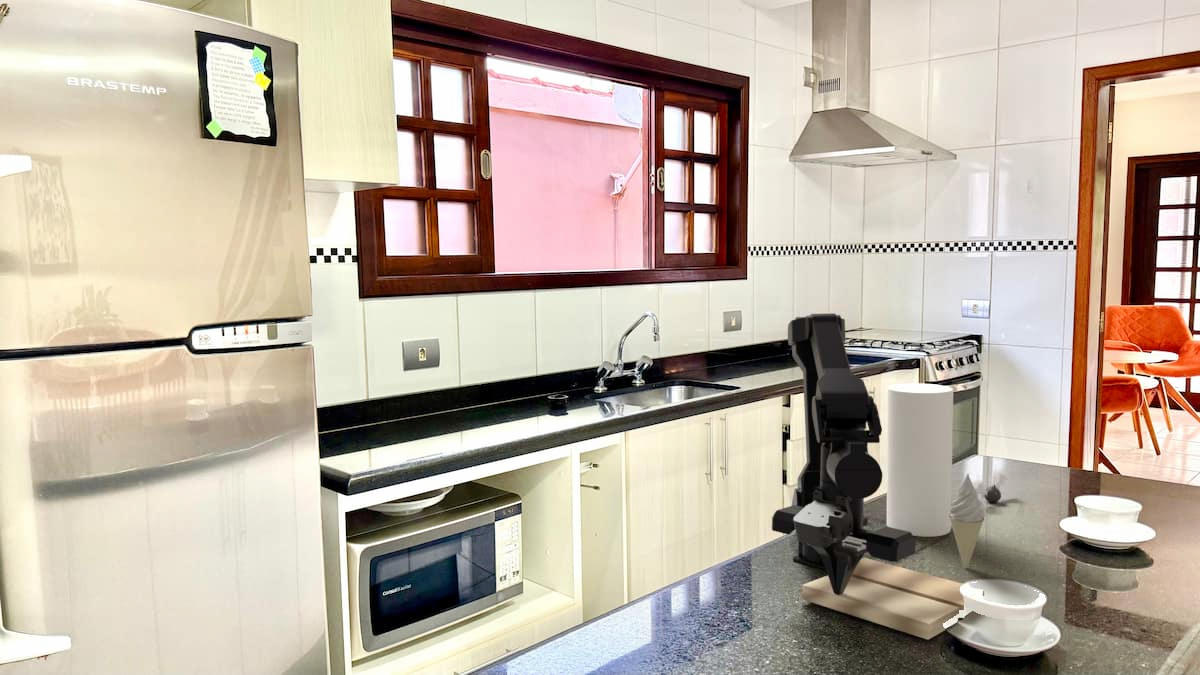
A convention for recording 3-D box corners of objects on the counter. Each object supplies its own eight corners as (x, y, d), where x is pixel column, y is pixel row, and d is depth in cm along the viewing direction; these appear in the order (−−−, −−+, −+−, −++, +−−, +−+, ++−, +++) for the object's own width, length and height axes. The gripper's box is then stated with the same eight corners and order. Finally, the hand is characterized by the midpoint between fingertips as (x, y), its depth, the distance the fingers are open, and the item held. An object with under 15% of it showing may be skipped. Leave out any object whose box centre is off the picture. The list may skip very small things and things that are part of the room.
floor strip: (838, 584, 122) (838, 571, 121) (863, 570, 127) (864, 557, 127) (961, 620, 109) (961, 606, 109) (984, 603, 114) (984, 589, 114)
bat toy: (965, 509, 156) (966, 484, 155) (1002, 493, 165) (1002, 470, 165) (981, 512, 153) (981, 487, 153) (1017, 496, 163) (1017, 472, 162)
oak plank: (801, 599, 115) (802, 584, 115) (835, 585, 121) (835, 572, 121) (928, 639, 102) (928, 623, 102) (958, 622, 108) (959, 607, 108)
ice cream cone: (968, 577, 123) (970, 479, 122) (940, 566, 128) (942, 471, 126) (991, 570, 125) (993, 474, 124) (962, 560, 130) (964, 467, 128)
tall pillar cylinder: (964, 531, 143) (967, 389, 141) (916, 540, 139) (918, 394, 137) (920, 514, 153) (921, 381, 151) (873, 522, 149) (874, 386, 147)
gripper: (749, 476, 112) (746, 589, 113) (877, 503, 99) (872, 631, 99) (795, 465, 120) (792, 571, 121) (919, 489, 106) (915, 607, 107)
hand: (838, 593), depth 112 cm, fingers closed, pressing on oak plank
